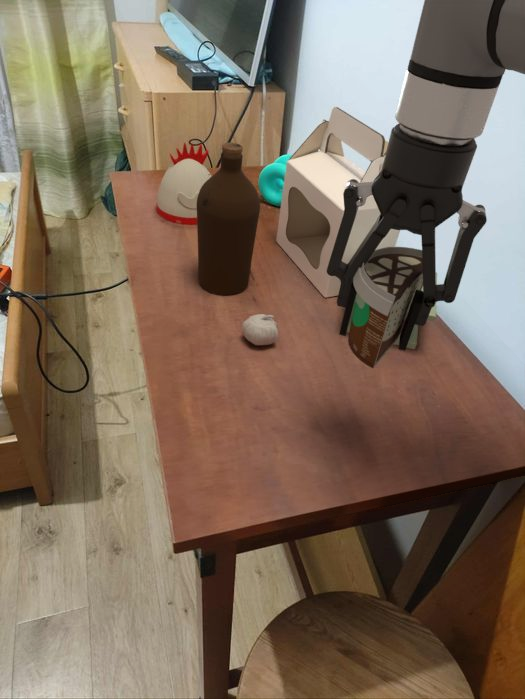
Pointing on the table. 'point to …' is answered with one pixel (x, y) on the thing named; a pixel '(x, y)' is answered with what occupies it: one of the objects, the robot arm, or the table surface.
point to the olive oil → (227, 226)
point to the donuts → (273, 180)
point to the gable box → (328, 197)
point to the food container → (383, 300)
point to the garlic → (260, 329)
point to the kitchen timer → (182, 186)
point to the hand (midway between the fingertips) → (373, 335)
